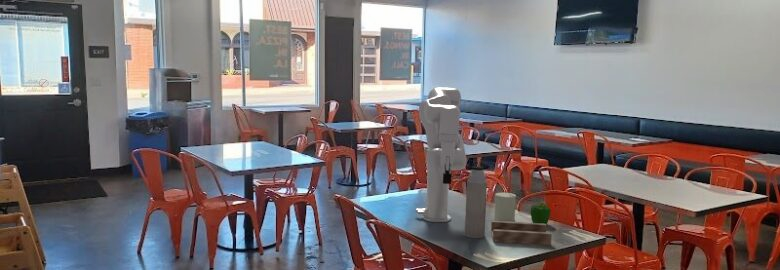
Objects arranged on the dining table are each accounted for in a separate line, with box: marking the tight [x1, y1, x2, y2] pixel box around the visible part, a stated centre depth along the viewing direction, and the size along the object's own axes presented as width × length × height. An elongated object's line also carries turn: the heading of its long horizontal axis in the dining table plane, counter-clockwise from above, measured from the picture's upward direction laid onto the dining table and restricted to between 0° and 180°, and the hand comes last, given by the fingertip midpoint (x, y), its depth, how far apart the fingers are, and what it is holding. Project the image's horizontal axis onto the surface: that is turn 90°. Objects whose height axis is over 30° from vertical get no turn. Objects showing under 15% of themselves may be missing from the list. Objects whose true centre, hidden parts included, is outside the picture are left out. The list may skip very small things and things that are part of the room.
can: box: [493, 192, 517, 222], centre depth 264 cm, size 9×9×12 cm
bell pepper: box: [529, 201, 551, 225], centre depth 259 cm, size 8×8×10 cm
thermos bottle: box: [464, 165, 488, 239], centre depth 237 cm, size 8×8×28 cm
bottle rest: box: [490, 220, 552, 246], centre depth 237 cm, size 22×15×4 cm
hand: (446, 183), depth 238 cm, fingers closed
